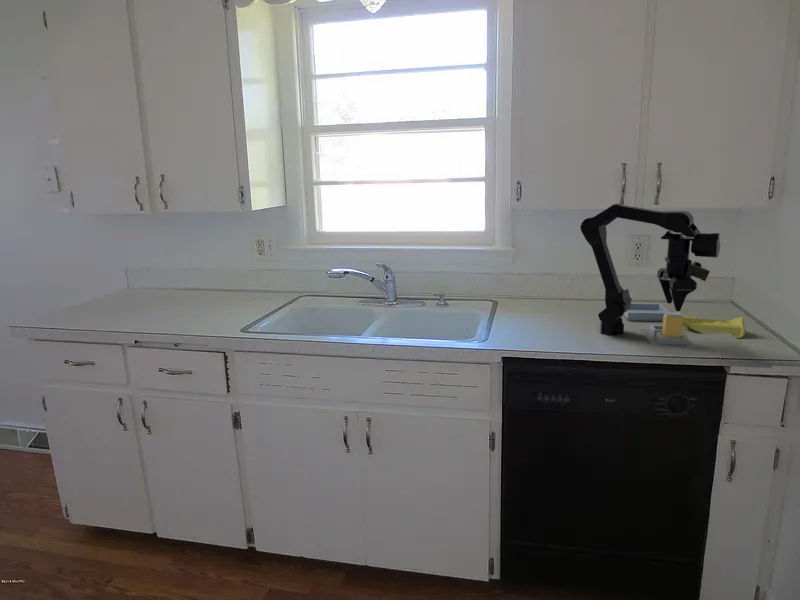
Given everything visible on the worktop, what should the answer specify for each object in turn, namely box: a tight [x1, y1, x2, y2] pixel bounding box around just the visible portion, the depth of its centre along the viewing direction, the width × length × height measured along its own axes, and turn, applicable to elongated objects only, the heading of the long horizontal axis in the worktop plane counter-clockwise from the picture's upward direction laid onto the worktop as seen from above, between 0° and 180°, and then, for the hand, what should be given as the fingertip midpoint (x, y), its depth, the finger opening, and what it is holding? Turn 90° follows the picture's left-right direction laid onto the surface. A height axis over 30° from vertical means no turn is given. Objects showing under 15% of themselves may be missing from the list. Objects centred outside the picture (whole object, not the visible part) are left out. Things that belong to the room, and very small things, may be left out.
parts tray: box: [622, 302, 670, 323], centre depth 203 cm, size 14×14×3 cm
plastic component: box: [676, 311, 746, 339], centre depth 182 cm, size 20×7×10 cm
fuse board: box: [639, 324, 698, 349], centre depth 174 cm, size 12×18×4 cm, turn 169°
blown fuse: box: [662, 311, 683, 338], centre depth 169 cm, size 3×4×9 cm, turn 79°
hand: (673, 307), depth 168 cm, fingers open, 9 cm apart
